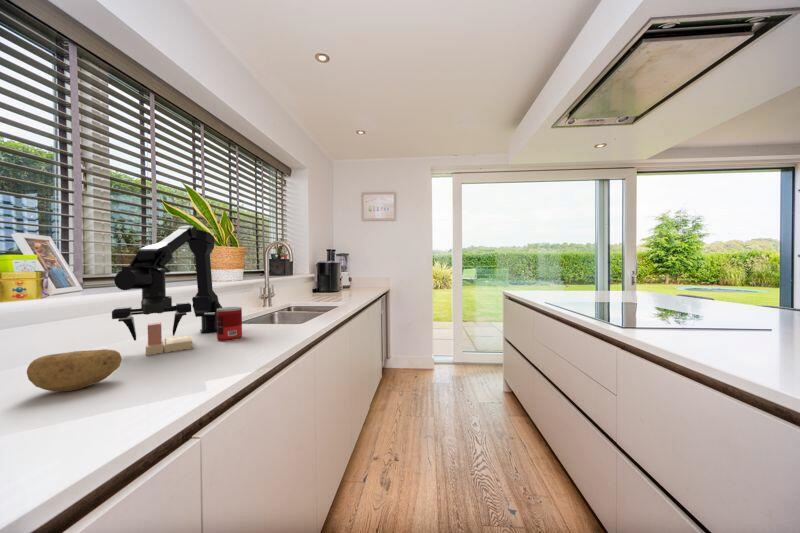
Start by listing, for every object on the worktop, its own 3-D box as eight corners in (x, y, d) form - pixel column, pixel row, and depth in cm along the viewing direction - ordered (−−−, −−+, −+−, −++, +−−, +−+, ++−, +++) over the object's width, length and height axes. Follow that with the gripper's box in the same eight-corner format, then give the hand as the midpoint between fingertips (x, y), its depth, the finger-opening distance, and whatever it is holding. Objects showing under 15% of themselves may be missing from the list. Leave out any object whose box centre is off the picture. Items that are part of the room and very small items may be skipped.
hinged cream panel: (164, 346, 98) (164, 338, 98) (190, 342, 103) (190, 334, 103) (164, 352, 90) (164, 344, 90) (192, 348, 95) (192, 340, 95)
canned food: (246, 336, 111) (246, 306, 111) (232, 341, 103) (232, 309, 103) (227, 336, 112) (226, 306, 112) (212, 341, 104) (211, 309, 104)
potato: (119, 386, 64) (118, 349, 64) (17, 405, 56) (16, 363, 56) (125, 374, 72) (125, 341, 72) (37, 389, 64) (36, 352, 64)
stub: (147, 348, 96) (147, 322, 96) (163, 346, 98) (162, 320, 98) (145, 355, 88) (145, 327, 88) (163, 352, 90) (162, 325, 90)
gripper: (108, 291, 81) (109, 348, 81) (192, 287, 92) (193, 337, 92) (114, 289, 90) (115, 341, 90) (189, 285, 101) (190, 331, 101)
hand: (154, 337), depth 93 cm, fingers open, 9 cm apart
